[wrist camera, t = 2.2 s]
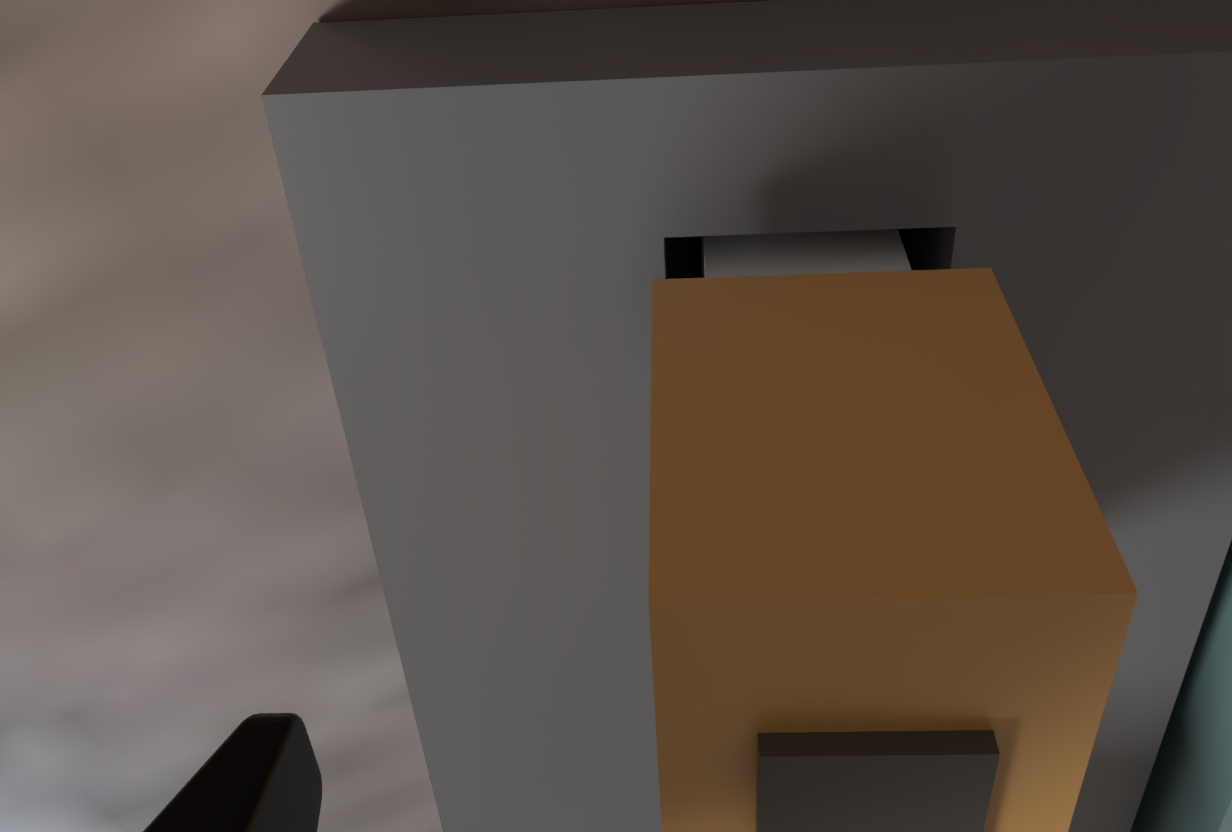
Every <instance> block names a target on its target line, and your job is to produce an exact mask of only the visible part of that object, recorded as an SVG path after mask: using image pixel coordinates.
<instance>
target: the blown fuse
mask: <svg viewBox="0 0 1232 832" xmlns="http://www.w3.org/2000/svg"><path fill="white" fill-rule="evenodd" d="M1137 594H1138V592H1137V589H1136V587H1135V585H1134V583H1133V581H1132V578H1131V576H1130V574H1129V572H1128V570H1127V567H1126V565H1125V563H1124V561H1123V559H1122V556H1121V554H1120V552H1119V550H1118V547H1117V545H1116V543H1115V541H1114V539H1113V536H1112V534H1111V532H1110V530H1109V528H1108V525H1107V523H1106V521H1105V519H1104V517H1103V514H1102V512H1101V510H1100V508H1099V506H1098V503H1097V501H1096V499H1095V497H1094V494H1093V492H1092V490H1091V488H1090V486H1089V483H1088V481H1087V479H1086V477H1085V475H1084V472H1083V470H1082V468H1081V466H1080V464H1079V461H1078V459H1077V457H1076V455H1075V453H1074V450H1073V448H1072V446H1071V444H1070V441H1069V439H1068V437H1067V435H1066V433H1065V430H1064V428H1063V426H1062V424H1061V422H1060V419H1059V417H1058V415H1057V413H1056V411H1055V408H1054V406H1053V404H1052V402H1051V400H1050V397H1049V395H1048V393H1047V391H1046V388H1045V386H1044V384H1043V382H1042V380H1041V377H1040V375H1039V373H1038V371H1037V369H1036V366H1035V364H1034V362H1033V360H1032V358H1031V355H1030V353H1029V351H1028V349H1027V347H1026V344H1025V342H1024V340H1023V338H1022V335H1021V333H1020V331H1019V329H1018V327H1017V324H1016V322H1015V320H1014V318H1013V316H1012V313H1011V311H1010V309H1009V307H1008V305H1007V302H1006V300H1005V298H1004V296H1003V293H1002V291H1001V289H1000V287H999V285H998V282H997V280H996V278H995V276H994V274H993V271H992V269H991V268H969V269H940V270H911V267H910V264H909V261H908V258H907V255H906V252H905V249H904V246H903V243H902V241H901V238H900V235H899V232H898V229H882V230H855V231H828V232H801V233H774V234H748V235H721V236H701V278H681V279H652V348H651V433H650V519H649V618H650V636H651V653H652V670H653V687H654V704H655V721H656V738H657V756H658V773H659V790H660V807H661V824H662V832H1068V830H1069V826H1070V823H1071V819H1072V816H1073V813H1074V809H1075V806H1076V802H1077V799H1078V796H1079V792H1080V789H1081V785H1082V782H1083V778H1084V775H1085V772H1086V768H1087V765H1088V761H1089V758H1090V755H1091V751H1092V748H1093V744H1094V741H1095V738H1096V734H1097V731H1098V727H1099V724H1100V721H1101V717H1102V714H1103V710H1104V707H1105V704H1106V700H1107V697H1108V693H1109V690H1110V686H1111V683H1112V680H1113V676H1114V673H1115V669H1116V666H1117V663H1118V659H1119V656H1120V652H1121V649H1122V646H1123V642H1124V639H1125V635H1126V632H1127V629H1128V625H1129V622H1130V618H1131V615H1132V611H1133V608H1134V605H1135V601H1136V598H1137Z"/></svg>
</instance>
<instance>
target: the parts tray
mask: <svg viewBox="0 0 1232 832" xmlns="http://www.w3.org/2000/svg"><path fill="white" fill-rule="evenodd" d="M1130 832H1232V540H1231V543H1230V545H1229V548H1228V551H1227V554H1226V557H1225V560H1224V563H1223V566H1222V569H1221V571H1220V574H1219V577H1218V580H1217V583H1216V586H1215V589H1214V592H1213V595H1212V597H1211V600H1210V603H1209V606H1208V609H1207V612H1206V615H1205V618H1204V620H1203V623H1202V626H1201V629H1200V632H1199V635H1198V638H1197V641H1196V644H1195V646H1194V649H1193V652H1192V655H1191V658H1190V661H1189V664H1188V667H1187V669H1186V672H1185V675H1184V678H1183V681H1182V684H1181V687H1180V690H1179V693H1178V695H1177V698H1176V701H1175V704H1174V707H1173V710H1172V713H1171V716H1170V719H1169V721H1168V724H1167V727H1166V730H1165V733H1164V736H1163V739H1162V742H1161V744H1160V747H1159V750H1158V753H1157V756H1156V759H1155V762H1154V765H1153V768H1152V770H1151V773H1150V776H1149V779H1148V782H1147V785H1146V788H1145V791H1144V794H1143V796H1142V799H1141V802H1140V805H1139V808H1138V811H1137V814H1136V817H1135V819H1134V822H1133V825H1132V828H1131V831H1130Z"/></svg>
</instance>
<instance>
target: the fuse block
mask: <svg viewBox="0 0 1232 832" xmlns="http://www.w3.org/2000/svg"><path fill="white" fill-rule="evenodd" d="M261 96H262V100H263V104H264V108H265V112H266V116H267V120H268V124H269V128H270V132H271V136H272V140H273V145H274V149H275V153H276V157H277V161H278V165H279V169H280V173H281V177H282V181H283V185H284V189H285V193H286V197H287V201H288V205H289V209H290V213H291V217H292V221H293V225H294V229H295V233H296V238H297V242H298V246H299V250H300V254H301V258H302V262H303V266H304V270H305V274H306V278H307V282H308V286H309V290H310V294H311V298H312V302H313V306H314V310H315V314H316V318H317V322H318V326H319V331H320V335H321V339H322V343H323V347H324V351H325V355H326V359H327V363H328V367H329V371H330V375H331V379H332V383H333V387H334V391H335V395H336V399H337V403H338V407H339V411H340V415H341V420H342V424H343V428H344V432H345V436H346V440H347V444H348V448H349V452H350V456H351V460H352V464H353V468H354V472H355V476H356V480H357V484H358V488H359V492H360V496H361V500H362V504H363V508H364V513H365V517H366V521H367V525H368V529H369V533H370V537H371V541H372V545H373V549H374V553H375V557H376V561H377V565H378V569H379V573H380V577H381V581H382V585H383V589H384V593H385V597H386V602H387V606H388V610H389V614H390V618H391V622H392V626H393V630H394V634H395V638H396V642H397V646H398V650H399V654H400V658H401V662H402V666H403V670H404V674H405V678H406V682H407V686H408V690H409V695H410V699H411V703H412V707H413V711H414V715H415V719H416V723H417V727H418V731H419V735H420V739H421V743H422V747H423V751H424V755H425V759H426V763H427V767H428V771H429V775H430V779H431V784H432V788H433V792H434V796H435V800H436V804H437V808H438V812H439V816H440V820H441V824H442V828H443V832H662V824H661V807H660V790H659V773H658V756H657V738H656V721H655V704H654V687H653V670H652V653H651V636H650V618H649V519H650V433H651V348H652V279H668V270H667V242H666V238H667V237H694V236H721V235H748V234H774V233H801V232H828V231H855V230H882V229H909V228H910V235H909V245H908V255H907V258H908V261H909V264H910V267H911V270H940V269H969V268H991V269H992V271H993V274H994V276H995V278H996V280H997V282H998V285H999V287H1000V289H1001V291H1002V293H1003V296H1004V298H1005V300H1006V302H1007V305H1008V307H1009V309H1010V311H1011V313H1012V316H1013V318H1014V320H1015V322H1016V324H1017V327H1018V329H1019V331H1020V333H1021V335H1022V338H1023V340H1024V342H1025V344H1026V347H1027V349H1028V351H1029V353H1030V355H1031V358H1032V360H1033V362H1034V364H1035V366H1036V369H1037V371H1038V373H1039V375H1040V377H1041V380H1042V382H1043V384H1044V386H1045V388H1046V391H1047V393H1048V395H1049V397H1050V400H1051V402H1052V404H1053V406H1054V408H1055V411H1056V413H1057V415H1058V417H1059V419H1060V422H1061V424H1062V426H1063V428H1064V430H1065V433H1066V435H1067V437H1068V439H1069V441H1070V444H1071V446H1072V448H1073V450H1074V453H1075V455H1076V457H1077V459H1078V461H1079V464H1080V466H1081V468H1082V470H1083V472H1084V475H1085V477H1086V479H1087V481H1088V483H1089V486H1090V488H1091V490H1092V492H1093V494H1094V497H1095V499H1096V501H1097V503H1098V506H1099V508H1100V510H1101V512H1102V514H1103V517H1104V519H1105V521H1106V523H1107V525H1108V528H1109V530H1110V532H1111V534H1112V536H1113V539H1114V541H1115V543H1116V545H1117V547H1118V550H1119V552H1120V554H1121V556H1122V559H1123V561H1124V563H1125V565H1126V567H1127V570H1128V572H1129V574H1130V576H1131V578H1132V581H1133V583H1134V585H1135V587H1136V589H1137V592H1138V594H1137V598H1136V601H1135V605H1134V608H1133V611H1132V615H1131V618H1130V622H1129V625H1128V629H1127V632H1126V635H1125V639H1124V642H1123V646H1122V649H1121V652H1120V656H1119V659H1118V663H1117V666H1116V669H1115V673H1114V676H1113V680H1112V683H1111V686H1110V690H1109V693H1108V697H1107V700H1106V704H1105V707H1104V710H1103V714H1102V717H1101V721H1100V724H1099V727H1098V731H1097V734H1096V738H1095V741H1094V744H1093V748H1092V751H1091V755H1090V758H1089V761H1088V765H1087V768H1086V772H1085V775H1084V778H1083V782H1082V785H1081V789H1080V792H1079V796H1078V799H1077V802H1076V806H1075V809H1074V813H1073V816H1072V819H1071V823H1070V826H1069V830H1068V832H1130V831H1131V828H1132V825H1133V822H1134V819H1135V817H1136V814H1137V811H1138V808H1139V805H1140V802H1141V799H1142V796H1143V794H1144V791H1145V788H1146V785H1147V782H1148V779H1149V776H1150V773H1151V770H1152V768H1153V765H1154V762H1155V759H1156V756H1157V753H1158V750H1159V747H1160V744H1161V742H1162V739H1163V736H1164V733H1165V730H1166V727H1167V724H1168V721H1169V719H1170V716H1171V713H1172V710H1173V707H1174V704H1175V701H1176V698H1177V695H1178V693H1179V690H1180V687H1181V684H1182V681H1183V678H1184V675H1185V672H1186V669H1187V667H1188V664H1189V661H1190V658H1191V655H1192V652H1193V649H1194V646H1195V644H1196V641H1197V638H1198V635H1199V632H1200V629H1201V626H1202V623H1203V620H1204V618H1205V615H1206V612H1207V609H1208V606H1209V603H1210V600H1211V597H1212V595H1213V592H1214V589H1215V586H1216V583H1217V580H1218V577H1219V574H1220V571H1221V569H1222V566H1223V563H1224V560H1225V557H1226V554H1227V551H1228V548H1229V545H1230V543H1231V540H1232V0H769V1H748V2H728V3H707V4H687V5H666V6H646V7H625V8H605V9H584V10H564V11H543V12H523V13H502V14H482V15H461V16H441V17H420V18H400V19H379V20H359V21H338V22H317V23H313V24H312V25H311V27H310V28H309V30H308V31H307V32H306V34H305V35H304V37H303V38H302V39H301V41H300V42H299V44H298V45H297V46H296V48H295V49H294V51H293V52H292V53H291V55H290V56H289V57H288V59H287V60H286V62H285V63H284V64H283V66H282V67H281V69H280V70H279V71H278V73H277V74H276V76H275V77H274V78H273V80H272V81H271V83H270V84H269V85H268V87H267V88H266V89H265V91H264V92H263V94H262V95H261Z"/></svg>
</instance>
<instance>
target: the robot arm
mask: <svg viewBox="0 0 1232 832" xmlns="http://www.w3.org/2000/svg"><path fill="white" fill-rule="evenodd" d="M321 800H322V779H321V773H320V770H319V767H318V764H317V761H316V758H315V755H314V752H313V749H312V746H311V743H310V740H309V737H308V734H307V731H306V728H305V725H304V723H303V721H302V719H301V718H300V717H299V716H298V715H297V714H293V713H259V714H253V715H251V716H249V717H248V718H246V719H245V720H244V721H243V722H242V723H241V724H240V725H239V726H238V727H237V728H236V729H235V730H234V731H233V733H232V734H231V735H230V736H229V737H228V738H227V739H226V740H225V741H224V743H223V744H222V745H221V746H220V747H219V748H218V749H217V750H216V751H215V753H214V754H213V755H212V756H211V757H210V758H209V759H208V760H207V761H206V762H205V764H204V765H203V766H202V767H201V768H200V769H199V770H198V771H197V772H196V774H195V775H194V776H193V777H192V778H191V779H190V780H189V781H188V782H187V784H186V785H185V786H184V787H183V788H182V789H181V790H180V791H179V792H178V794H177V795H176V796H175V797H174V798H173V799H172V800H171V801H170V802H169V804H168V805H167V806H166V807H165V808H164V809H163V810H162V811H161V812H160V814H159V815H158V816H157V817H156V818H155V819H154V820H153V821H152V822H151V824H150V825H149V826H148V827H147V828H146V829H145V830H144V831H143V832H317V828H318V821H319V814H320V807H321Z"/></svg>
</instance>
